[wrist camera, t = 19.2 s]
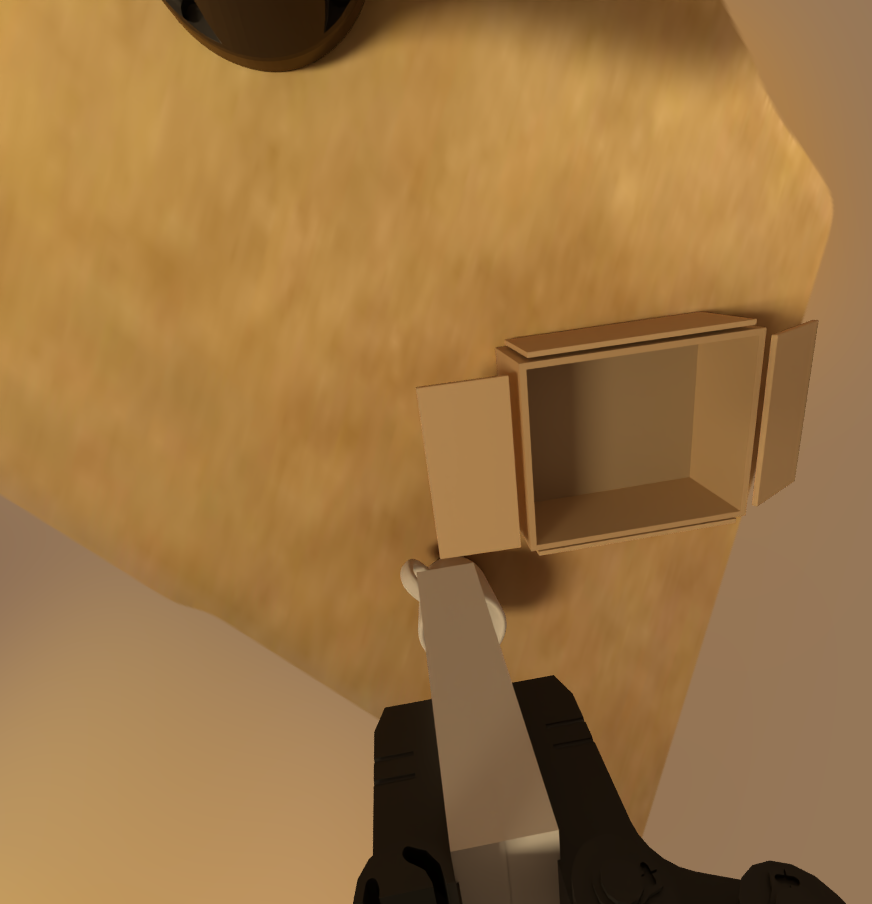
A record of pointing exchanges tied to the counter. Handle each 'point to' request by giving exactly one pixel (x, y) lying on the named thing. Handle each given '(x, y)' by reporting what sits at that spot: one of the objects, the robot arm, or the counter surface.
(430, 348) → the counter surface
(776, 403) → the flap far
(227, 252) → the counter surface
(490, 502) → the flap near
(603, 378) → the carton
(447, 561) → the cup
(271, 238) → the counter surface
